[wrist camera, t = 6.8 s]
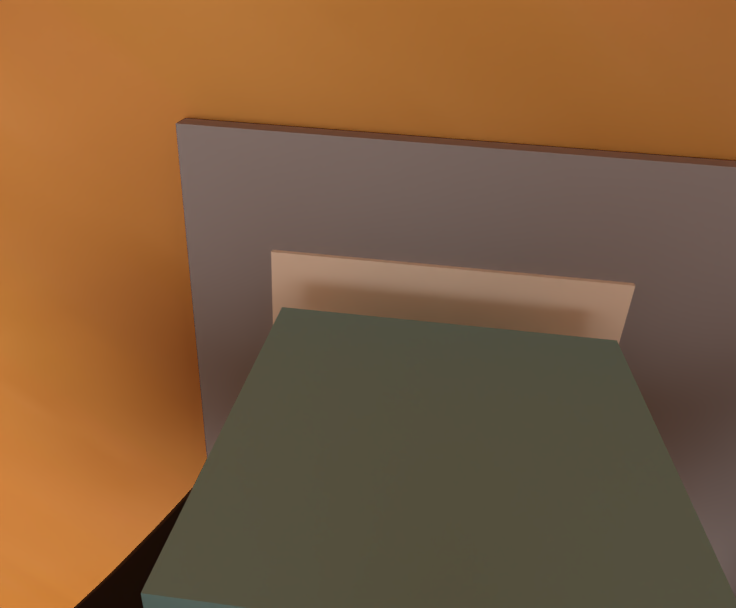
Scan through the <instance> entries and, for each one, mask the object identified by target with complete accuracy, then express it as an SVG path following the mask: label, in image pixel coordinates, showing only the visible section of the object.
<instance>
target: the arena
mask: <svg viewBox="0 0 736 608" xmlns="http://www.w3.org/2000/svg"><path fill="white" fill-rule="evenodd" d="M176 131H177V142H178V152H179V163H180V174H181V184H182V195H183V206H184V216H185V227H186V238H187V249H188V259H189V270H190V281H191V291H192V302H193V313H194V323H195V334H196V345H197V355H198V366H199V377H200V387H201V398H202V409H203V420H204V430H205V441H206V452H207V458H208V456H209V454H210V452H211V450H212V448H213V446H214V444H215V442H216V440H217V438H218V436H219V434H220V432H221V430H222V428H223V426H224V424H225V422H226V419H227V417H228V415H229V413H230V411H231V409H232V407H233V405H234V403H235V401H236V399H237V397H238V395H239V393H240V391H241V389H242V387H243V385H244V383H245V381H246V379H247V377H248V375H249V373H250V371H251V369H252V367H253V365H254V363H255V361H256V359H257V357H258V355H259V353H260V351H261V349H262V347H263V345H264V343H265V341H266V339H267V336H268V334H269V332H270V330H271V328H272V326H273V324H274V322H275V320H276V318H277V316H278V314H279V312H280V310H281V308H282V307H286V308H296V309H307V310H317V311H327V312H337V313H347V314H357V315H367V316H377V317H387V318H397V319H407V320H417V321H427V322H437V323H447V324H457V325H467V326H477V327H487V328H497V329H507V330H517V331H527V332H537V333H548V334H558V335H568V336H578V337H588V338H598V339H608V340H617V342H618V344H619V346H620V348H621V351H622V353H623V355H624V357H625V359H626V361H627V364H628V366H629V368H630V370H631V372H632V374H633V377H634V379H635V381H636V383H637V385H638V387H639V390H640V392H641V394H642V396H643V398H644V400H645V403H646V405H647V407H648V409H649V411H650V413H651V416H652V418H653V420H654V422H655V424H656V426H657V429H658V431H659V433H660V435H661V437H662V440H663V442H664V444H665V446H666V448H667V450H668V453H669V455H670V457H671V459H672V461H673V463H674V466H675V468H676V470H677V472H678V474H679V476H680V479H681V481H682V483H683V485H684V487H685V489H686V492H687V494H688V496H689V498H690V500H691V502H692V505H693V507H694V509H695V511H696V513H697V515H698V518H699V520H700V522H701V524H702V526H703V528H704V531H705V533H706V535H707V537H708V539H709V541H710V544H711V546H712V548H713V550H714V552H715V554H716V557H717V559H718V561H719V563H720V565H721V567H722V570H723V572H724V574H725V576H726V578H727V580H728V583H729V585H730V587H731V589H732V591H733V593H734V596H735V598H736V161H730V160H718V159H705V158H692V157H679V156H666V155H653V154H640V153H627V152H615V151H602V150H589V149H576V148H563V147H550V146H537V145H524V144H511V143H499V142H486V141H473V140H460V139H447V138H434V137H421V136H408V135H396V134H383V133H370V132H357V131H344V130H331V129H318V128H305V127H292V126H280V125H267V124H254V123H241V122H228V121H215V120H202V119H189V118H185V119H183V120H181V121H179V122H177V123H176Z"/></svg>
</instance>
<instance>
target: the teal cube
mask: <svg viewBox="0 0 736 608" xmlns="http://www.w3.org/2000/svg"><path fill="white" fill-rule="evenodd" d="M141 597H142V603H143V608H736V598H735V596H734V593H733V591H732V589H731V587H730V585H729V583H728V580H727V578H726V576H725V574H724V572H723V570H722V567H721V565H720V563H719V561H718V559H717V557H716V554H715V552H714V550H713V548H712V546H711V544H710V541H709V539H708V537H707V535H706V533H705V531H704V528H703V526H702V524H701V522H700V520H699V518H698V515H697V513H696V511H695V509H694V507H693V505H692V502H691V500H690V498H689V496H688V494H687V492H686V489H685V487H684V485H683V483H682V481H681V479H680V476H679V474H678V472H677V470H676V468H675V466H674V463H673V461H672V459H671V457H670V455H669V453H668V450H667V448H666V446H665V444H664V442H663V440H662V437H661V435H660V433H659V431H658V429H657V426H656V424H655V422H654V420H653V418H652V416H651V413H650V411H649V409H648V407H647V405H646V403H645V400H644V398H643V396H642V394H641V392H640V390H639V387H638V385H637V383H636V381H635V379H634V377H633V374H632V372H631V370H630V368H629V366H628V364H627V361H626V359H625V357H624V355H623V353H622V351H621V348H620V346H619V344H618V342H617V340H608V339H598V338H588V337H578V336H568V335H558V334H548V333H537V332H527V331H517V330H507V329H497V328H487V327H477V326H467V325H457V324H447V323H437V322H427V321H417V320H407V319H397V318H387V317H377V316H367V315H357V314H347V313H337V312H327V311H317V310H307V309H296V308H286V307H282V308H281V310H280V312H279V314H278V316H277V318H276V320H275V322H274V324H273V326H272V328H271V330H270V332H269V334H268V336H267V339H266V341H265V343H264V345H263V347H262V349H261V351H260V353H259V355H258V357H257V359H256V361H255V363H254V365H253V367H252V369H251V371H250V373H249V375H248V377H247V379H246V381H245V383H244V385H243V387H242V389H241V391H240V393H239V395H238V397H237V399H236V401H235V403H234V405H233V407H232V409H231V411H230V413H229V415H228V417H227V419H226V422H225V424H224V426H223V428H222V430H221V432H220V434H219V436H218V438H217V440H216V442H215V444H214V446H213V448H212V450H211V452H210V454H209V456H208V458H207V460H206V462H205V464H204V466H203V468H202V470H201V472H200V474H199V476H198V478H197V480H196V482H195V484H194V486H193V488H192V490H191V492H190V494H189V496H188V498H187V500H186V502H185V505H184V507H183V509H182V511H181V513H180V515H179V517H178V519H177V521H176V523H175V525H174V527H173V529H172V531H171V533H170V535H169V537H168V539H167V541H166V543H165V545H164V547H163V549H162V551H161V553H160V555H159V557H158V559H157V561H156V563H155V565H154V567H153V569H152V571H151V573H150V575H149V577H148V579H147V581H146V583H145V586H144V588H143V590H142V592H141Z"/></svg>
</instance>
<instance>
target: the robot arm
mask: <svg viewBox="0 0 736 608" xmlns="http://www.w3.org/2000/svg"><path fill="white" fill-rule="evenodd" d="M191 490H192V489H191ZM191 490H190V491H189V492H188V493H187V494H186V496H185V497H184V498H183V499H182V500H181V501H180V502H179V503H178V504H177V505H176V506H175V508H174V509H173V510H172V511H171V512H170V513H169V514H168V515H167V516H166V517H165V518H164V519H163V520H162V521H161V523H160V524H159V525H158V526H157V527H156V528H155V529H154V530H153V531H152V532H151V533H150V534H149V535H148V536H147V537H146V538H145V539H144V540H143V541H142V542H141V543H140V544H139V545H138V546H137V547H136V548H135V549H134V550H133V551H132V552H131V553H130V554H129V555H128V556H127V557H126V558H125V559H124V560H123V561H122V562H121V563H120V564H119V565H118V566H117V567H116V568H115V569H114V570H113V571H112V572H111V573H110V574H109V575H108V576H107V577H106V578H105V579H104V580H103V581H102V582H101V583H100V584H99V585H98V586H97V587H96V588H95V589H94V590H92V591H91V592H90V593H89V594H88V595H87V596H86V597H85V598H84V599H83V600H82V601H81V602H80V603H78V604H77V605H76V606H75V607H74V608H143V603H142V597H141V592H142V590H143V588H144V586H145V583H146V581H147V579H148V577H149V575H150V573H151V571H152V569H153V567H154V565H155V563H156V561H157V559H158V557H159V555H160V553H161V551H162V549H163V547H164V545H165V543H166V541H167V539H168V537H169V535H170V533H171V531H172V529H173V527H174V525H175V523H176V521H177V519H178V517H179V515H180V513H181V511H182V509H183V507H184V505H185V502H186V500H187V498H188V496H189V494H190V492H191Z"/></svg>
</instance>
